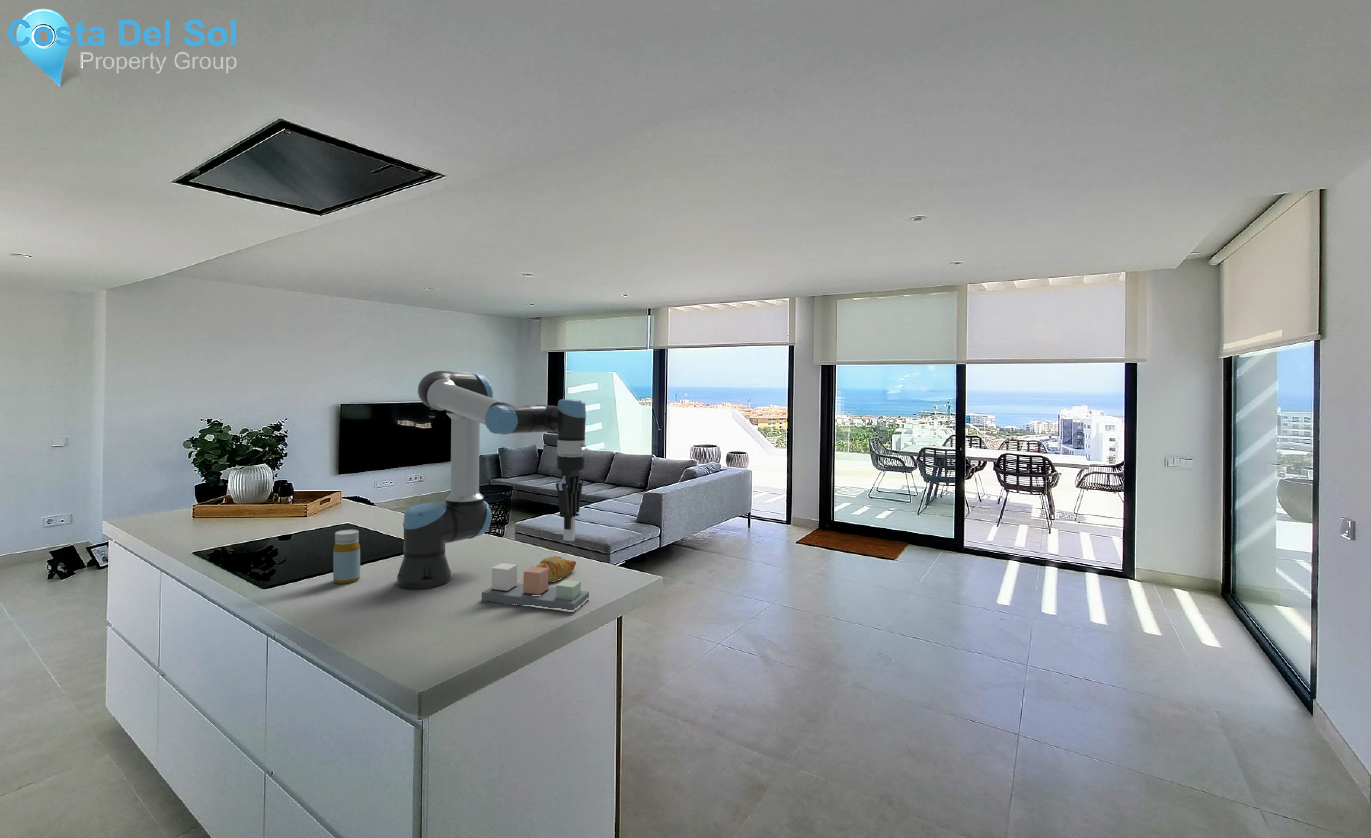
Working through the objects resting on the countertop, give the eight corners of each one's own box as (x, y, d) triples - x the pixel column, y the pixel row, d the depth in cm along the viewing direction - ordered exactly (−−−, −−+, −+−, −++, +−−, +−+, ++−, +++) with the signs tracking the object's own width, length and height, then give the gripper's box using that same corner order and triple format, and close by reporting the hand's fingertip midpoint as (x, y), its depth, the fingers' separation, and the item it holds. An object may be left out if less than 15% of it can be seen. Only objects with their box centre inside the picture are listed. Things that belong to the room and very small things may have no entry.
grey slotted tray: (481, 601, 160) (481, 592, 160) (501, 589, 170) (501, 581, 170) (573, 613, 154) (573, 603, 153) (588, 600, 163) (589, 591, 163)
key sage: (555, 606, 158) (556, 585, 157) (564, 600, 162) (564, 579, 162) (572, 608, 156) (572, 587, 156) (580, 602, 161) (580, 581, 161)
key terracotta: (523, 592, 160) (523, 571, 160) (532, 587, 165) (532, 566, 164) (539, 594, 159) (539, 573, 158) (548, 588, 163) (548, 568, 163)
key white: (491, 588, 162) (491, 567, 162) (501, 583, 167) (501, 563, 167) (507, 590, 161) (507, 569, 161) (516, 585, 166) (517, 564, 166)
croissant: (531, 599, 172) (540, 579, 170) (511, 578, 177) (519, 558, 174) (580, 580, 190) (588, 561, 188) (560, 561, 194) (568, 542, 192)
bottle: (365, 577, 177) (365, 529, 177) (349, 585, 170) (349, 535, 170) (344, 576, 178) (344, 528, 177) (327, 583, 171) (327, 534, 170)
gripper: (573, 458, 150) (571, 547, 151) (593, 453, 163) (591, 535, 164) (547, 456, 152) (545, 544, 153) (568, 452, 165) (567, 533, 166)
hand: (569, 539), depth 159 cm, fingers closed
